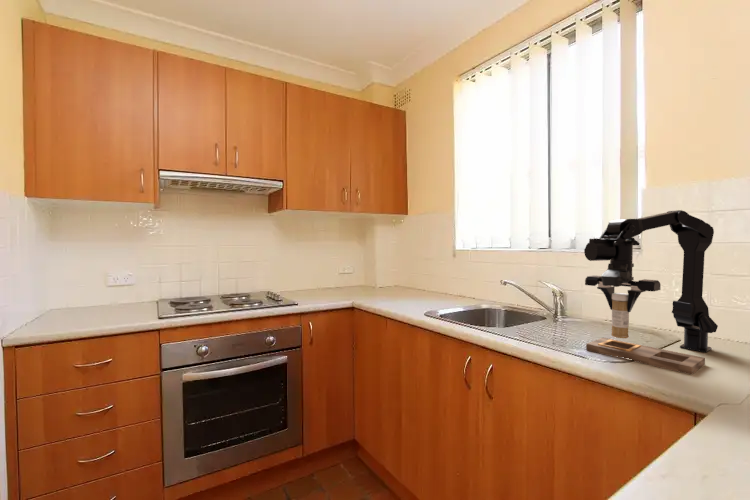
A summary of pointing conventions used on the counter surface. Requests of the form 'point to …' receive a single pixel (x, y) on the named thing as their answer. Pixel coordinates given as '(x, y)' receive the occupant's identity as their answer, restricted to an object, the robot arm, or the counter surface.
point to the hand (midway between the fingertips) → (620, 310)
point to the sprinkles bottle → (620, 315)
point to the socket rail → (648, 355)
